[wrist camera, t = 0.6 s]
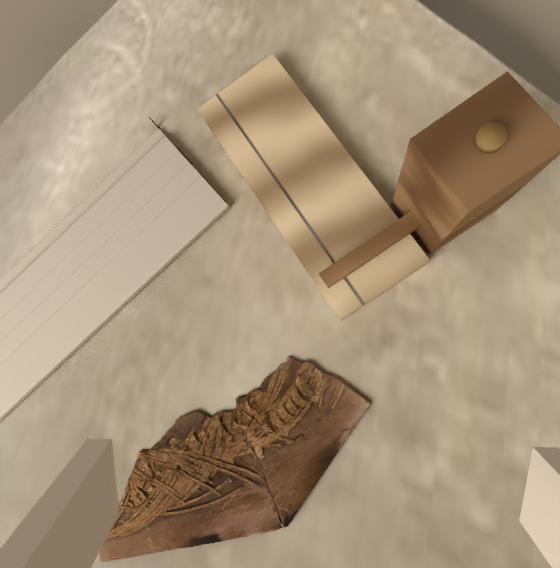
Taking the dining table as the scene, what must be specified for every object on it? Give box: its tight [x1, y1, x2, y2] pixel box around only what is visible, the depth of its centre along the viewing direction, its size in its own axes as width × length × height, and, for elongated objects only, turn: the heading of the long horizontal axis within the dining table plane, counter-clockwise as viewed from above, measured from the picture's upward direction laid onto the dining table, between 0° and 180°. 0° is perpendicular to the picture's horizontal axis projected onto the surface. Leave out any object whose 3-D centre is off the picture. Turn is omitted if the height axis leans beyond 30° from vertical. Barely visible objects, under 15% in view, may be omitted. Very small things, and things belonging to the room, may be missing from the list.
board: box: [197, 54, 430, 320], centre depth 33 cm, size 22×8×2 cm, turn 33°
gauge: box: [318, 71, 560, 289], centre depth 26 cm, size 5×14×12 cm, turn 123°
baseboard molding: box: [0, 117, 230, 421], centre depth 36 cm, size 31×3×12 cm
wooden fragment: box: [99, 357, 371, 562], centre depth 32 cm, size 26×11×1 cm, turn 119°
